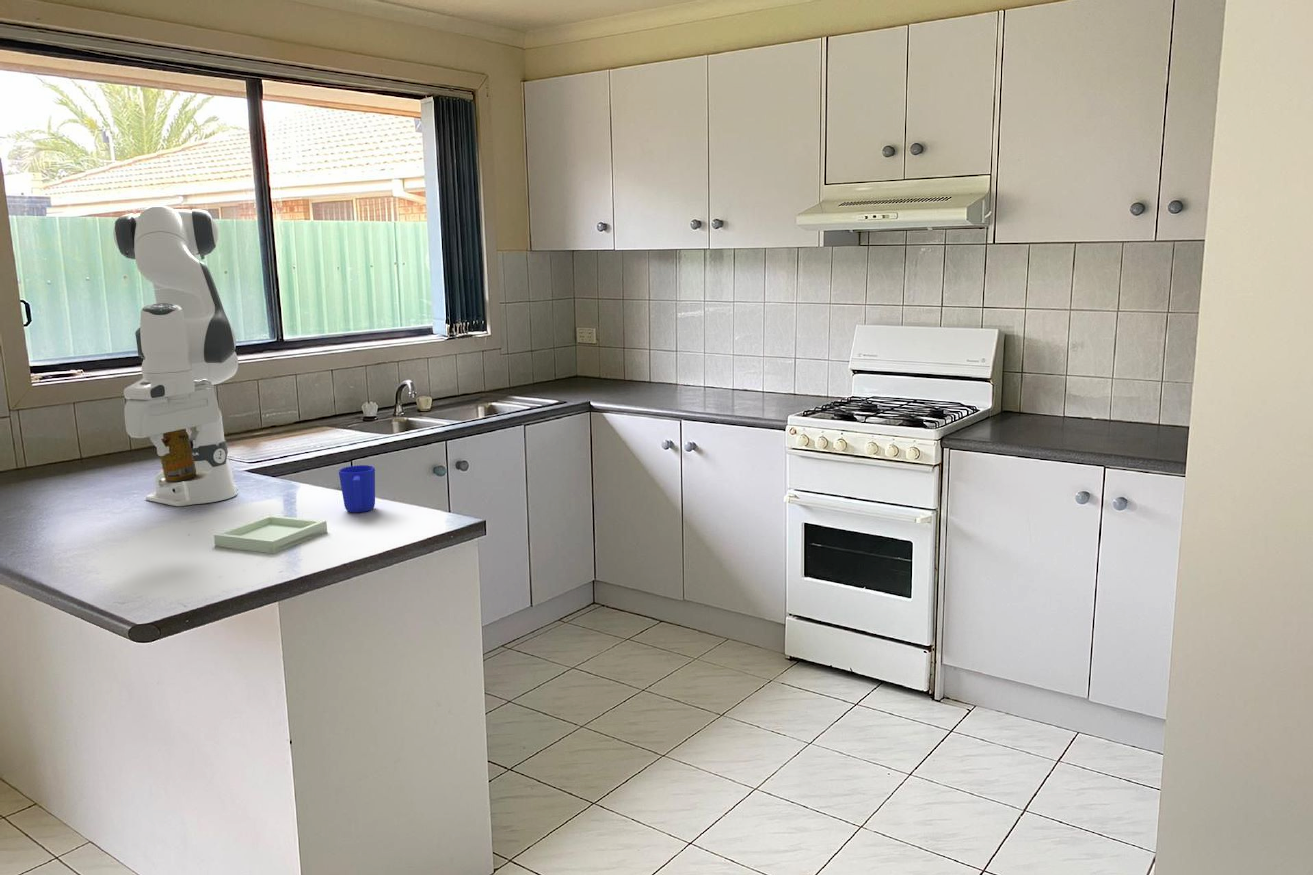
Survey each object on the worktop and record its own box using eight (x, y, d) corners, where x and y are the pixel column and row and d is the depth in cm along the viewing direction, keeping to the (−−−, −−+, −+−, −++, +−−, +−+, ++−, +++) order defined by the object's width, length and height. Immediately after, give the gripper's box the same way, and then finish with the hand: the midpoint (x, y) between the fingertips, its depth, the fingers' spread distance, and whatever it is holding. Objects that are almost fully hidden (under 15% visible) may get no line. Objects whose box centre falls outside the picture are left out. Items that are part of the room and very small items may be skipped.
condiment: (170, 475, 210) (159, 420, 206) (212, 471, 210) (200, 416, 207) (157, 485, 202) (145, 428, 199) (200, 481, 203) (188, 424, 200)
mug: (341, 520, 228) (337, 477, 226) (342, 507, 239) (339, 466, 237) (378, 516, 230) (374, 474, 228) (378, 504, 241) (374, 463, 239)
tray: (215, 546, 210) (213, 534, 210) (270, 525, 225) (269, 515, 224) (273, 553, 204) (272, 541, 203) (327, 531, 218) (326, 520, 218)
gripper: (201, 377, 212) (208, 440, 215) (115, 391, 194) (124, 460, 197) (222, 378, 210) (230, 442, 212) (138, 392, 191) (147, 462, 194)
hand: (178, 451), depth 204 cm, fingers closed on condiment, 6 cm apart
